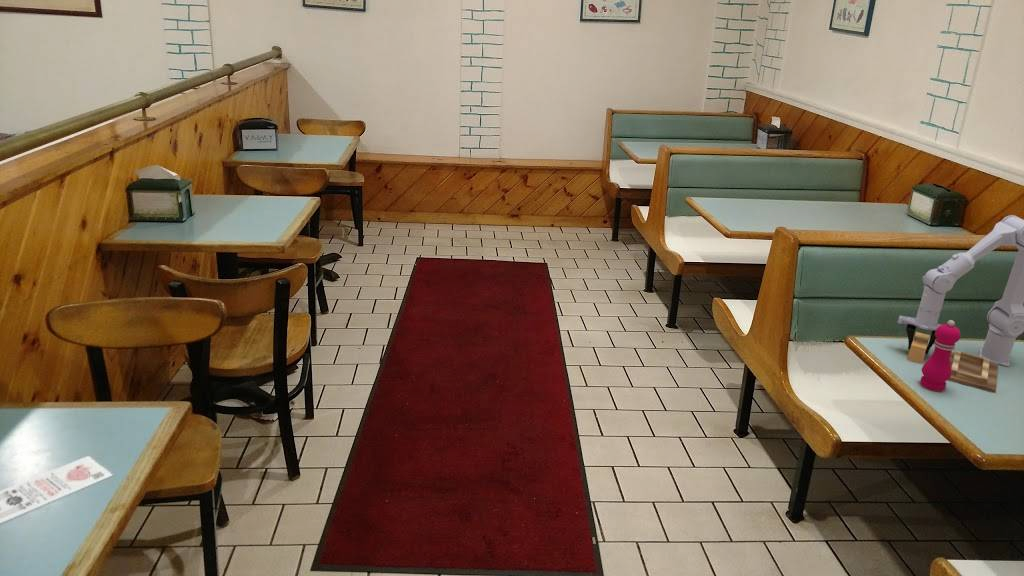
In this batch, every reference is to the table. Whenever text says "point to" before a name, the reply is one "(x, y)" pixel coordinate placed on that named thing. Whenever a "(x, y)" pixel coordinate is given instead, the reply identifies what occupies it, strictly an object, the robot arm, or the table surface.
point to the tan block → (918, 347)
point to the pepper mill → (940, 358)
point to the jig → (973, 371)
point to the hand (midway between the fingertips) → (917, 350)
